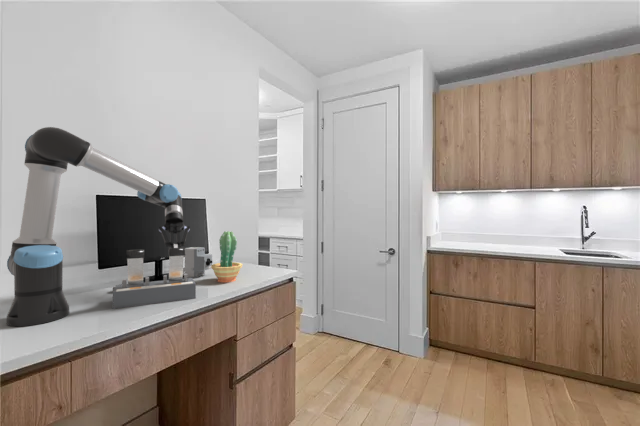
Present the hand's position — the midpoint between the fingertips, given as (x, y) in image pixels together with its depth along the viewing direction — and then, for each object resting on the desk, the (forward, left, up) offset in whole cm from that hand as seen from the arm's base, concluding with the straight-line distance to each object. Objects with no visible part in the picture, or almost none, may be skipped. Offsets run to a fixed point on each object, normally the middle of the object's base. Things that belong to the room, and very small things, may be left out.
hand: (176, 258), depth 126 cm
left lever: (-14, -1, -9) cm, 17 cm away
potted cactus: (+25, +19, -16) cm, 35 cm away
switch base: (-7, -1, -16) cm, 17 cm away
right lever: (0, -1, -9) cm, 9 cm away
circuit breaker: (+14, +37, -16) cm, 43 cm away
